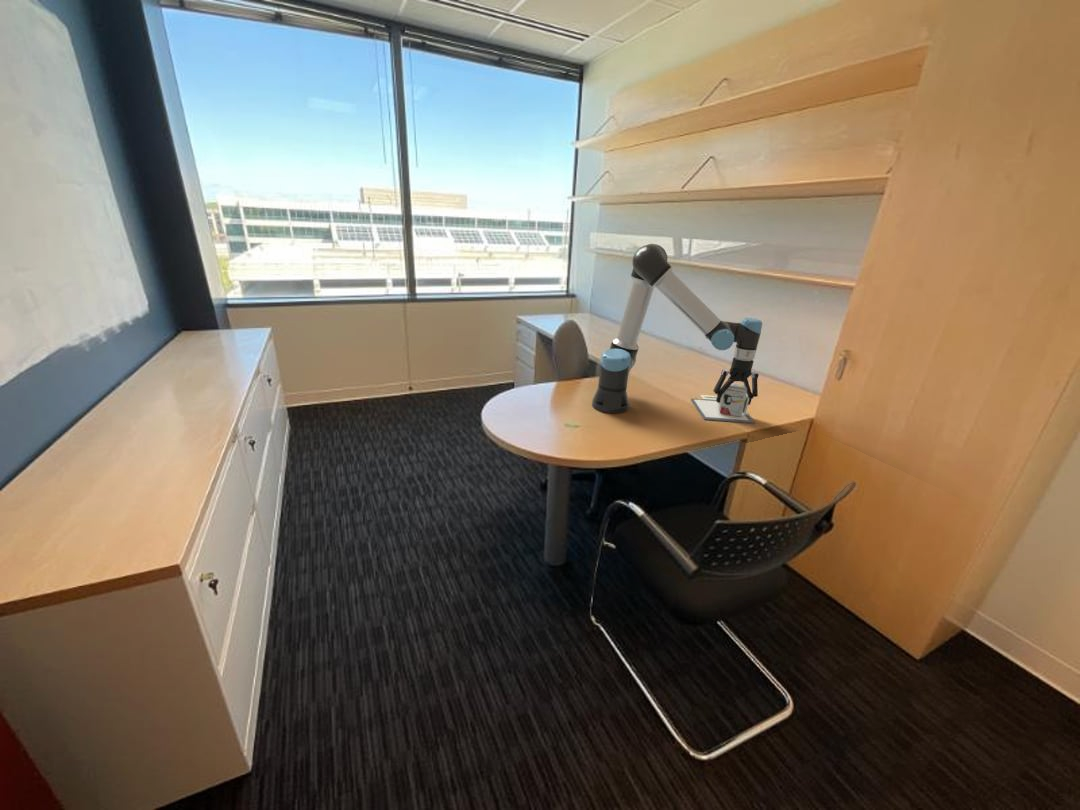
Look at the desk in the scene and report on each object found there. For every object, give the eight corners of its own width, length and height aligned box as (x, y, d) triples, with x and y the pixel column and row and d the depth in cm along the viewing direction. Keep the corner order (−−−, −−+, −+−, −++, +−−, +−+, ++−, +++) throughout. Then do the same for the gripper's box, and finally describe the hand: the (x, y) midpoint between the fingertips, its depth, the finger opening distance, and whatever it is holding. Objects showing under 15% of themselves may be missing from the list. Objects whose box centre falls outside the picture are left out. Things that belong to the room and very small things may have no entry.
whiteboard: (703, 419, 177) (704, 417, 176) (690, 399, 197) (691, 397, 196) (754, 423, 176) (755, 420, 175) (736, 403, 196) (736, 400, 196)
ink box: (719, 413, 182) (723, 386, 177) (720, 409, 186) (725, 382, 181) (741, 417, 178) (747, 389, 174) (742, 412, 182) (748, 386, 178)
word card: (703, 399, 198) (703, 398, 198) (700, 395, 203) (700, 394, 203) (721, 400, 198) (721, 399, 198) (718, 396, 202) (718, 395, 202)
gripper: (717, 359, 170) (706, 412, 179) (776, 363, 169) (762, 416, 178) (712, 353, 177) (701, 405, 186) (768, 357, 176) (755, 409, 185)
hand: (731, 410), depth 182 cm, fingers closed on ink box, 10 cm apart
